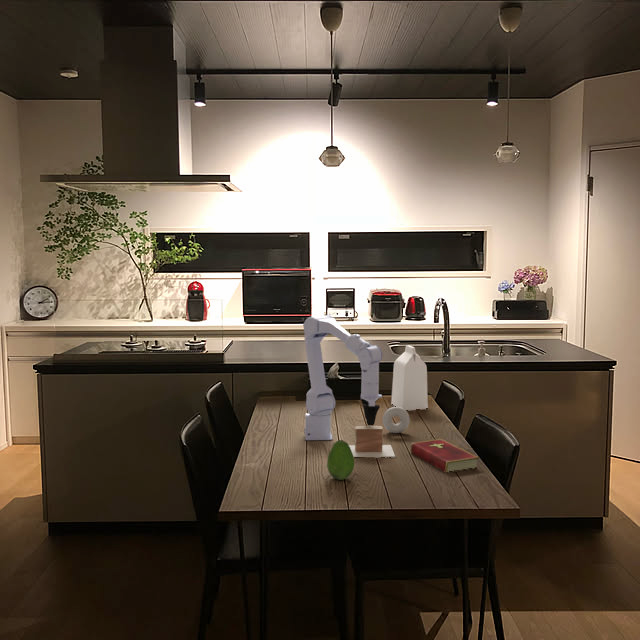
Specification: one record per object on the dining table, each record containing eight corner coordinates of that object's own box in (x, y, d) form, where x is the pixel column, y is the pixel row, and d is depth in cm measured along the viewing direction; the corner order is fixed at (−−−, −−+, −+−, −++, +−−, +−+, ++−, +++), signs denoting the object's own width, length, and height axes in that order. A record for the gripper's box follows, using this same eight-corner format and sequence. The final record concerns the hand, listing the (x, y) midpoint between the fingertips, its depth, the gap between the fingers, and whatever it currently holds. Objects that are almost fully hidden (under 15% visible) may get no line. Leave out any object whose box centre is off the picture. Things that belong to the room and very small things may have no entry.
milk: (391, 404, 293) (392, 344, 289) (415, 402, 296) (416, 343, 293) (402, 410, 281) (403, 349, 278) (427, 408, 285) (429, 348, 281)
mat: (346, 457, 221) (346, 456, 221) (344, 446, 233) (344, 445, 233) (395, 457, 222) (395, 456, 222) (390, 446, 234) (390, 444, 234)
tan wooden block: (382, 452, 226) (382, 428, 225) (355, 452, 226) (355, 429, 225) (381, 448, 229) (381, 425, 228) (354, 449, 229) (355, 426, 228)
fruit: (338, 472, 208) (338, 434, 207) (359, 478, 203) (359, 439, 202) (321, 479, 202) (322, 440, 200) (343, 485, 197) (343, 445, 196)
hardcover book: (446, 474, 208) (446, 461, 207) (410, 454, 227) (410, 442, 226) (478, 469, 212) (478, 456, 212) (440, 449, 232) (441, 438, 231)
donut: (382, 434, 248) (383, 407, 247) (381, 431, 251) (382, 405, 250) (410, 434, 248) (410, 407, 247) (408, 431, 252) (409, 405, 250)
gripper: (384, 387, 218) (384, 428, 219) (379, 377, 232) (379, 416, 234) (362, 387, 217) (362, 428, 219) (359, 377, 232) (358, 416, 233)
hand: (369, 422), depth 226 cm, fingers open, 7 cm apart
